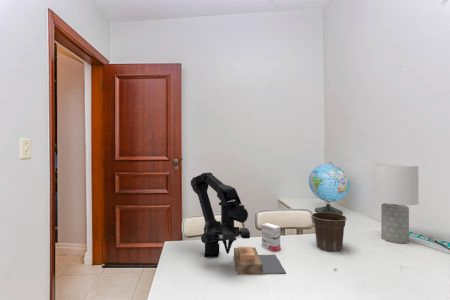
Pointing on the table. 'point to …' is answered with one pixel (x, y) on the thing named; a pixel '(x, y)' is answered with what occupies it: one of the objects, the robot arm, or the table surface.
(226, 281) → the table surface
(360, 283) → the table surface
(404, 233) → the lamp
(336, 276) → the table surface
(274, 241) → the ink box
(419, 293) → the table surface
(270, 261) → the mat
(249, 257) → the light orange block
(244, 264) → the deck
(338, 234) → the plant pot
